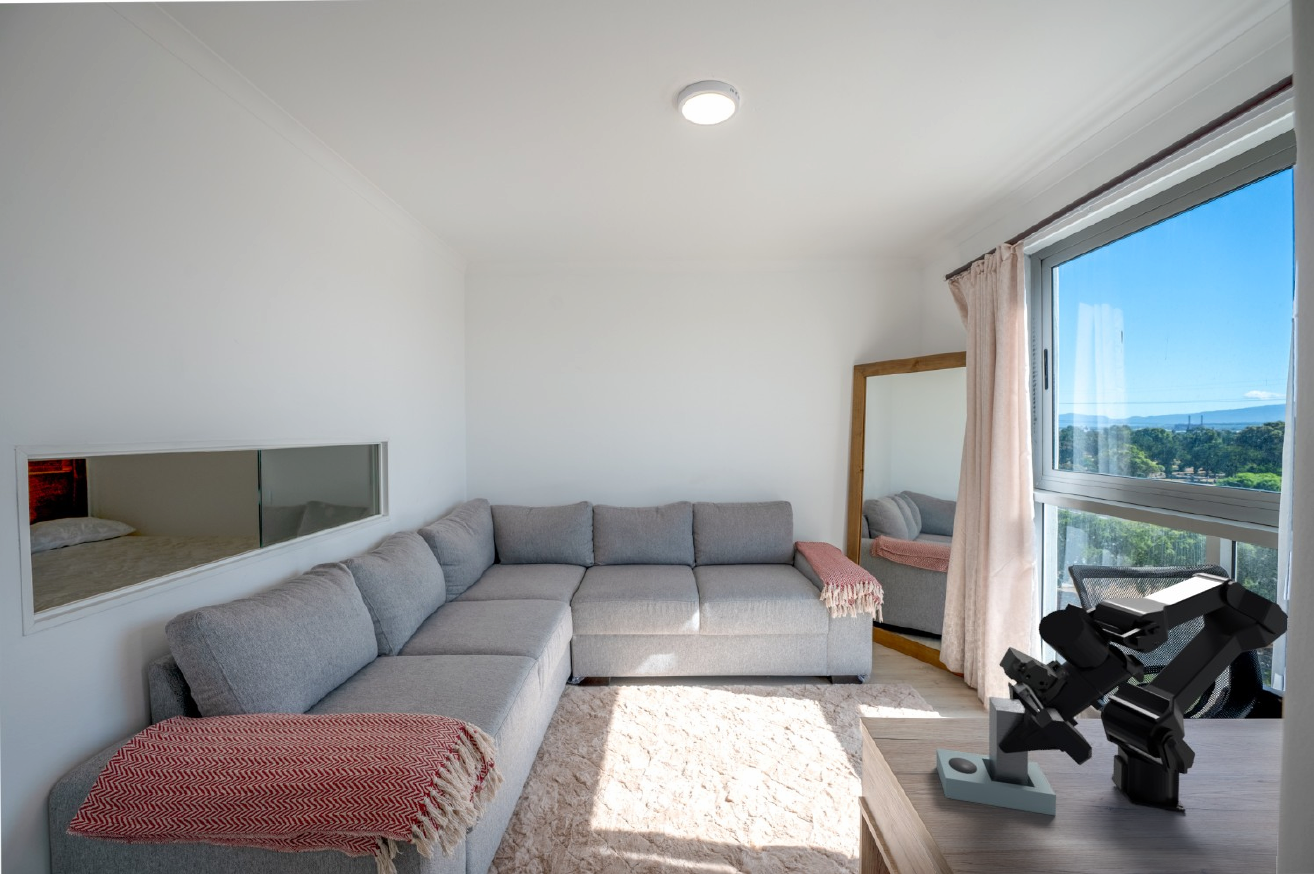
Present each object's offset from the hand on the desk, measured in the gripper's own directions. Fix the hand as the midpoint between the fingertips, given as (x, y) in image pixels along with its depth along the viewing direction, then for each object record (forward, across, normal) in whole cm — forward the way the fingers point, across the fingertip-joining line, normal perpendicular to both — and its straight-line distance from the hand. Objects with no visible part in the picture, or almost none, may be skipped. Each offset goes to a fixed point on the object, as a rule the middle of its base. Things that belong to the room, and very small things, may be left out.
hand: (997, 741), depth 85 cm
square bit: (+4, 0, +6) cm, 7 cm away
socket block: (+6, 0, +5) cm, 8 cm away
